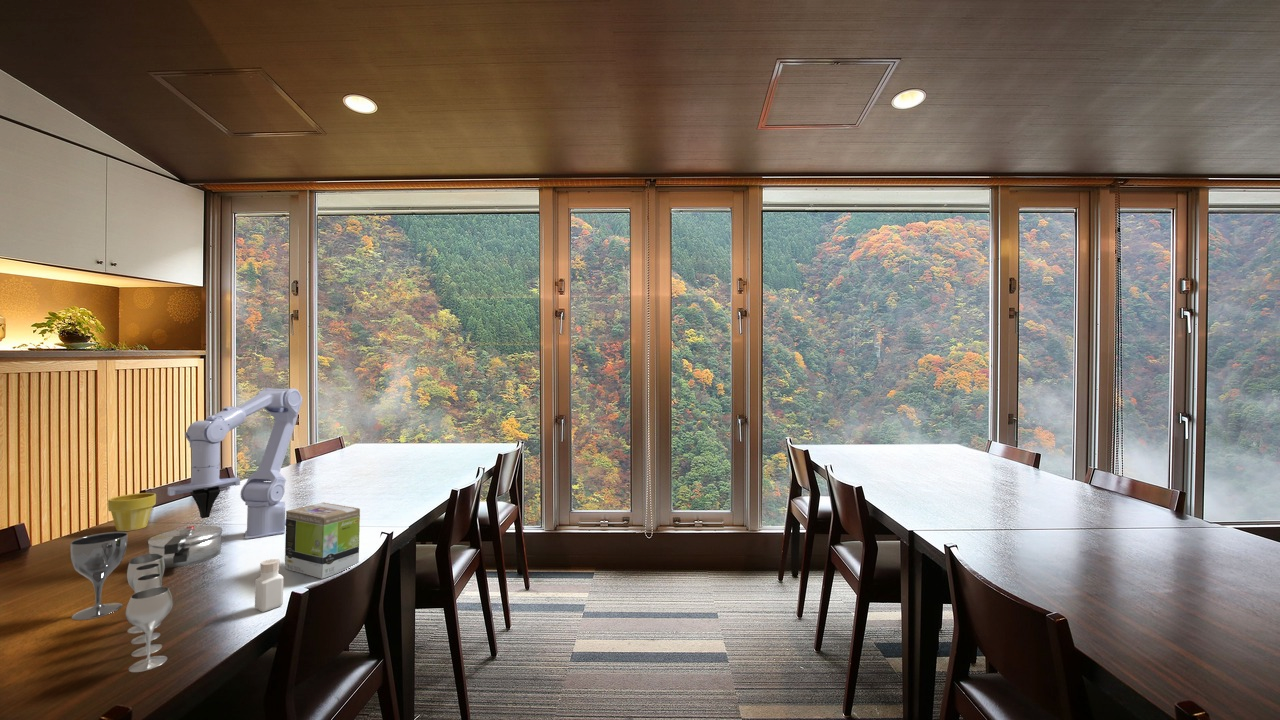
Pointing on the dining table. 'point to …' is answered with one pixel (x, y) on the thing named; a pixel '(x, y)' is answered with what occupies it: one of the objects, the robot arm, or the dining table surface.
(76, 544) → the wine glass
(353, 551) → the tea box
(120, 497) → the plant pot
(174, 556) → the cooker pot
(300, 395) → the robot arm
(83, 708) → the dining table surface
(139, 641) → the goblet set
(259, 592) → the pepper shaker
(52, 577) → the dining table surface
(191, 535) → the cooker lid
